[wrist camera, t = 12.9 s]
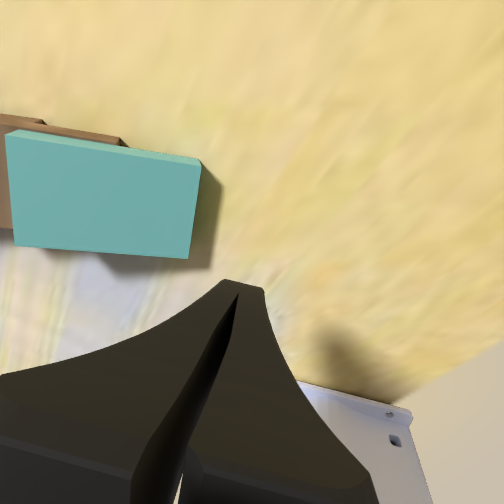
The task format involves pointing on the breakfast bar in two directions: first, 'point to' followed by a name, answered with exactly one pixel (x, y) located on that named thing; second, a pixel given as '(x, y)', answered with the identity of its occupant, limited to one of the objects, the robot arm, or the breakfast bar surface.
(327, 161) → the breakfast bar surface
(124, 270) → the breakfast bar surface
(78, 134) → the walnut domino
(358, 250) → the breakfast bar surface
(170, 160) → the teal domino
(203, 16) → the breakfast bar surface
